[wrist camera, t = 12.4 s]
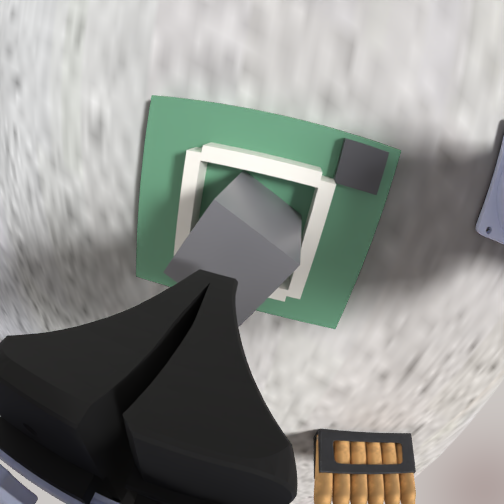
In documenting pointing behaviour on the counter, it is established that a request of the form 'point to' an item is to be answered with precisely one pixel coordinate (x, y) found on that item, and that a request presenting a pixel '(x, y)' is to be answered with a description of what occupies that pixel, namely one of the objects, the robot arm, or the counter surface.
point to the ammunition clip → (363, 468)
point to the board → (275, 179)
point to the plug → (243, 242)
